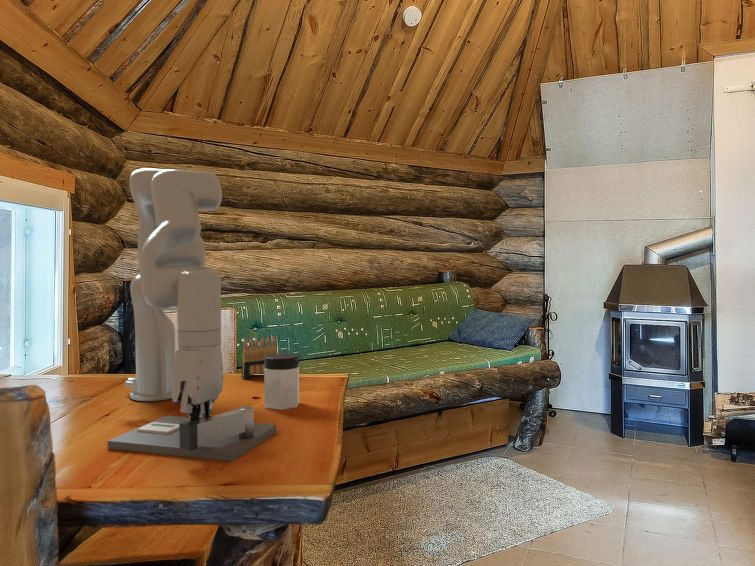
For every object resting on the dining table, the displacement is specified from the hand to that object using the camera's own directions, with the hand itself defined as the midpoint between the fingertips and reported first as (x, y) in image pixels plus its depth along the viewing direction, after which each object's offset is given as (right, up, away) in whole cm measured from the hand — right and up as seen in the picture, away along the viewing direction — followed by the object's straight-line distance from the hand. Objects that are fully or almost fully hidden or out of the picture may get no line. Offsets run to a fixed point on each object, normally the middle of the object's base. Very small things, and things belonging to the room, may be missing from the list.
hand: (200, 437), depth 110 cm
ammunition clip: (-2, 0, +67) cm, 67 cm away
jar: (+9, -1, +34) cm, 36 cm away
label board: (-3, -3, +8) cm, 9 cm away
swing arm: (+4, -1, 0) cm, 4 cm away
